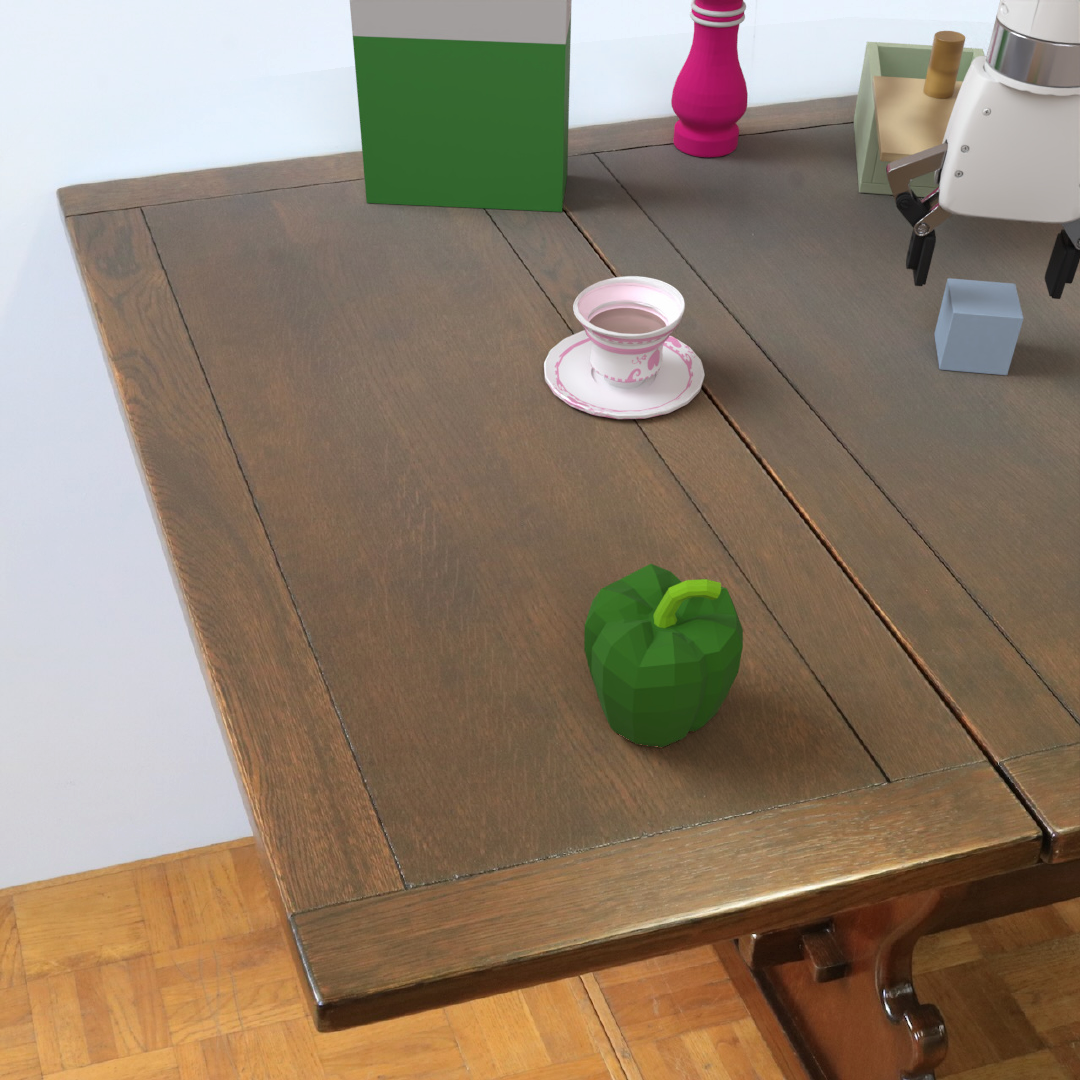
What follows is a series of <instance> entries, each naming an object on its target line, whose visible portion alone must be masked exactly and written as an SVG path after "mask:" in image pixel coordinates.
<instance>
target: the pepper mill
mask: <svg viewBox="0 0 1080 1080" xmlns="http://www.w3.org/2000/svg"><path fill="white" fill-rule="evenodd" d="M690 8H691V11H690V12H689V17H690V19H691V21H693V35H692V36H693V37H692V44H691V46H690V49H689V53H688V55H687V56H686V57H687V58H686V59H685V62H684V64H683V66H682V68H681V69H680V71H679V73H678V75H677V77H676V80H675V82H674V85H673V89H672V93H671V103H670V104H671V108H672V111H673V113H674V114H675V115H676V117H677V118H678V120H677V121H676V122H675V124H674V126H673V127H674V129H673V140H672V141H673V145H674V147H675V148H676V149H677V150H678V151H680V152H681V153H684V154H686V155H688V156H692V157H693V156H694V157H696V158H697V157H698V158H719V157H725V156H727V155H730V154H731V153H733V152H734V151H735V150H736V149H737V147H738V145H739V135H740V134H739V133H740V127H739V126H738V124H737V123H738V122H739V121H740V120H741V119H742V117H743V116H744V115H745V113H746V111H747V108H748V98H749V97H748V96H749V95H748V88H747V81H746V79H745V76H744V72H743V70H742V67H741V63H740V60H739V50H738V37H739V29H740V25H741V24H742V23H743V22H744V21H745V20H746V15H745V11H746V10H747V4H746V2H745V1H744V0H691V2H690Z"/></svg>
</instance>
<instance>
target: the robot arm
mask: <svg viewBox="0 0 1080 1080" xmlns="http://www.w3.org/2000/svg"><path fill="white" fill-rule="evenodd" d="M934 171H935V178H934V182H935V185H939V187H937V188H936V189H935V190H934V191H932V192H931V193H930V194H929V195H927V196H926V197H923V198H922V199H920V197H917V196H916V194H915V193H914V192H913V191H912V189H911V187H910V184H909V183H910V181H911V180H912V179H914V178H917V177H920V176H923V175H925V174H928V173H931V172H934ZM886 172H887V179H888V182H889V185H890V188H891V191H892V194H893V195H892V197H893V199H894V203H895V207H896V208H897V210H898V211H899V212H900V214H901V215H902V217H904V218H905V220H906V221H907V222H908V224H909V225H910V226H911V227H912V231H911V236H910V239H909V245H908V249H907V251H906V252H907V253H906V258H905V268H906V270H912V275H913V283H914V287H924V286H925V285H926V284H927V280H928V276H929V271H930V269H931V264H932V260H933V256H934V252H935V251H934V250H935V247H936V243H937V236H936V229H937V228H938V227H939V226H941V225H942V224H943V223H944V222H946V221H947V220H948V219H949V218H951V217H952V216H954V215H957V216H962V217H971V218H982V219H991V220H1002V221H1003V220H1004V221H1015V222H1027V223H1039V224H1060V225H1061V226H1062V228H1063V229H1061V230H1060V232H1058V233H1057V235H1056V238H1055V241H1054V243H1053V244H1054V245H1053V248H1052V251H1051V254H1050V257H1049V261H1048V264H1047V267H1046V271H1045V274H1044V282H1045V285H1046V289H1047V293H1048V296H1049V297H1051V299H1052V300H1053V299H1054V300H1060V299H1061V298H1062V295H1063V293H1064V289H1065V286H1066V284H1068V285H1071V284H1072V283H1073V281H1074V279H1075V276H1076V274H1077V270H1078V267H1079V263H1080V0H999V4H998V8H997V12H996V16H995V20H994V25H993V27H992V32H991V36H990V40H989V44H988V49H987V53H986V55H985V56H979V57H976V58H975V59H974V60H973V61H972V63H971V65H970V67H969V69H968V72H967V74H966V76H965V78H964V81H963V83H962V86H961V88H960V90H959V93H958V96H957V99H956V102H955V104H954V107H953V110H952V113H951V116H950V119H949V122H948V126H947V129H946V132H945V135H944V139H943V142H942V144H940V145H938V146H935V147H932V148H929V149H927V150H924V151H921V152H918V153H915V154H913V155H910V156H907V157H904V158H902V159H899V160H896V161H893V162H891V163H889V164H888V165H887V167H886Z"/></svg>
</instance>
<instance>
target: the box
mask: <svg viewBox="0 0 1080 1080" xmlns="http://www.w3.org/2000/svg"><path fill="white" fill-rule="evenodd" d="M932 45H933V44H931V45H929V44H914V43H898V42H897V43H896V42H883V41H882V42H881V41H866V45H865V51H864V56H863V63H862V68H861V73H860V80H859V85H858V91H857V97H856V103H855V109H854V115H853V132H854V133H853V134H854V145H855V156H856V157H855V159H856V169H857V183H858V193H861V194H876V195H887V196H888V195H889V196H893V194H892V191H891V188H890V185H889V182H888V179H887V172H886V167H887V165H888V164H889V163H891V162H887V161H880V154H879V144H878V135H877V126H876V117H875V107H874V98H873V89H872V81H873V76H885V77H901V78H916V79H926V74H927V69H928V64H929V60H930V55H931V50H932ZM979 56H986V54H985V51H984V48H975V47H964V48H963V52H962V57H961V61H960V66H959V70H958V75H957V79H956V81H962V82H963V81H964V78H965V76H966V74H967V72H968V69H969V67H970V65H971V63H972V61H973V60H974V59H975V58H976V57H979ZM934 178H935V171H934V172H931V173H928V174H925V175H923V176H920V177H917V178H914V179H912V180H911V181H910V183H909V184H910V187H911V189H912V191H913V192H914V193H915V194H916V196H917V197H918V198H925V197H926V196H927V195H929V194H930V193H931V192H932V191H934V190H935V189H936V188H937V187H939V185H935V182H934Z"/></svg>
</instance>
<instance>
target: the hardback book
mask: <svg viewBox="0 0 1080 1080" xmlns="http://www.w3.org/2000/svg"><path fill="white" fill-rule="evenodd" d="M349 6H350V7H349V9H350V18H351V19H350V21H351V22H350V23H351V32H352V33H351V34H352V45H353V56H354V65H355V66H354V68H355V69H354V70H355V78H356V79H355V80H356V81H355V82H356V92H357V93H356V94H357V104H358V116H359V128H360V138H361V141H360V142H361V151H362V152H361V153H362V163H363V164H362V165H363V176H364V177H363V178H364V187H365V189H364V190H365V197H366V198H365V199H366V204H380V205H381V204H383V205H404V206H405V205H406V206H425V207H426V206H427V207H448V208H466V209H467V208H468V209H469V208H470V209H487V210H488V209H489V210H490V209H491V210H511V211H513V210H514V211H532V212H533V211H534V212H556V213H557V212H558V213H562V212H563V207H564V202H565V201H564V200H565V193H566V187H567V179H568V167H569V165H568V163H569V162H568V161H569V160H568V159H569V121H570V120H569V119H570V84H571V83H570V80H571V79H570V78H571V77H570V76H571V43H572V42H571V41H572V40H571V37H572V0H349Z"/></svg>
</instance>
